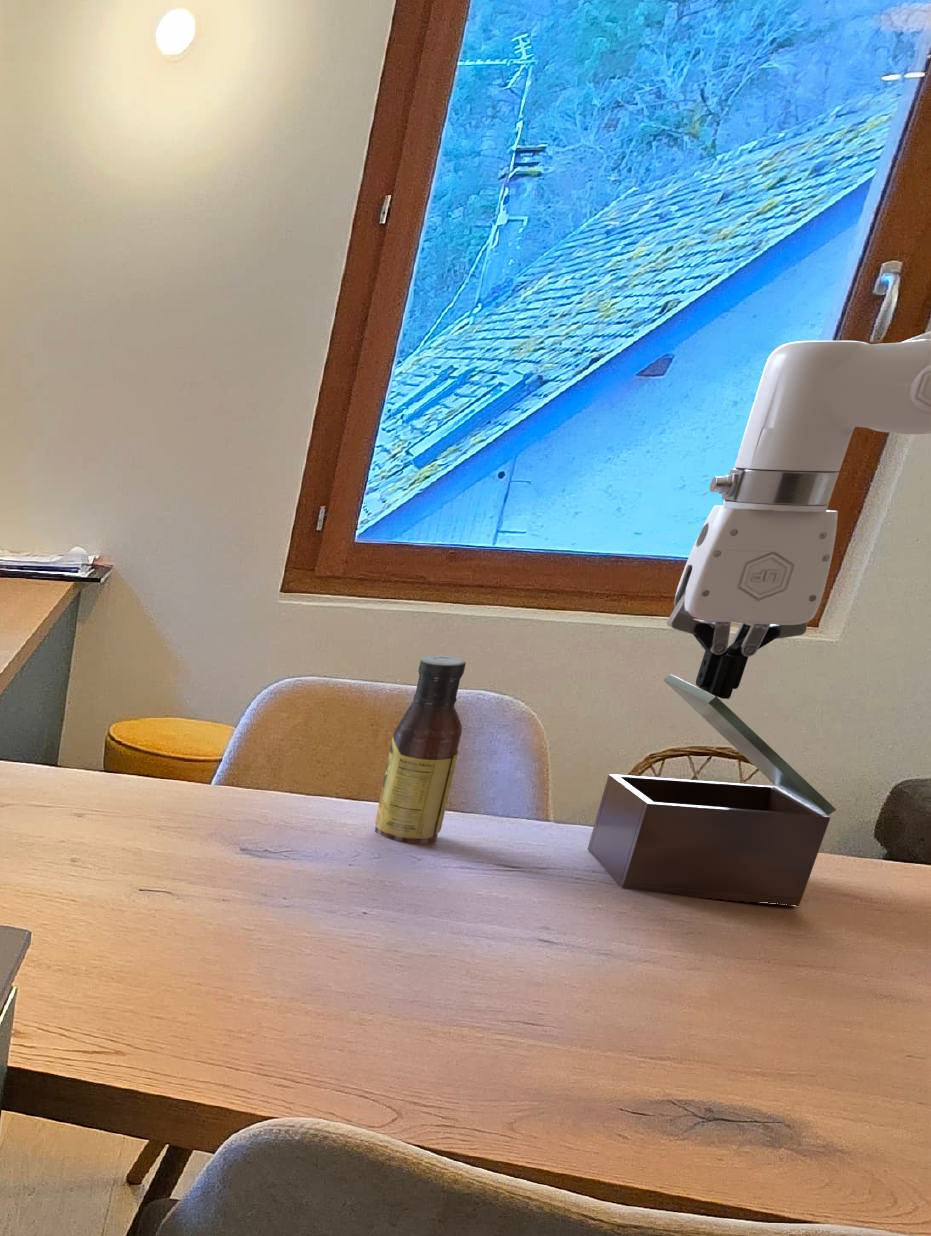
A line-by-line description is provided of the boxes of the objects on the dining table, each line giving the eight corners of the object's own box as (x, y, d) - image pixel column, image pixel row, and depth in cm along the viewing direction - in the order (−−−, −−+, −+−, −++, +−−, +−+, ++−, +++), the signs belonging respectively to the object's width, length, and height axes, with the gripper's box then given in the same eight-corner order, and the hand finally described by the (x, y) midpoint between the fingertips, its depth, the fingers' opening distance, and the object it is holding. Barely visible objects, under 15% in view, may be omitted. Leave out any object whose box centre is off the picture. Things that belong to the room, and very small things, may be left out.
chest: (621, 890, 132) (647, 803, 128) (585, 855, 142) (608, 774, 138) (798, 907, 128) (830, 817, 124) (748, 869, 138) (776, 786, 134)
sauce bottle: (397, 829, 149) (439, 649, 140) (449, 847, 144) (496, 660, 135) (356, 839, 146) (396, 656, 138) (407, 857, 141) (453, 668, 133)
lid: (708, 702, 124) (716, 696, 123) (662, 679, 134) (670, 673, 134) (828, 815, 124) (836, 809, 124) (774, 784, 134) (782, 778, 134)
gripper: (697, 491, 120) (636, 697, 127) (899, 497, 116) (824, 710, 123) (667, 486, 127) (610, 682, 134) (857, 492, 122) (788, 694, 130)
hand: (713, 695), depth 128 cm, fingers closed
